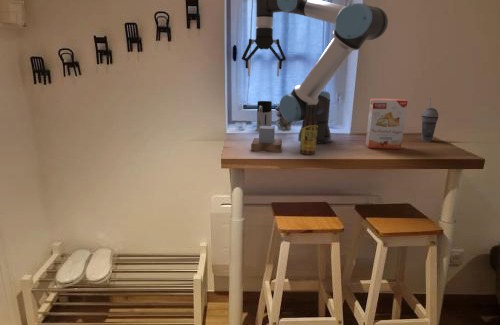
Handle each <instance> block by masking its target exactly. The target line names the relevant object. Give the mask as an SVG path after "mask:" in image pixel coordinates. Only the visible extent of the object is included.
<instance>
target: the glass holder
mask: <svg viewBox="0 0 500 325" xmlns="http://www.w3.org/2000/svg"><path fill="white" fill-rule="evenodd" d="M272 107H273V102H272V101H270V100H258V101H257V108H256V109H257V110H256V129H255V130H256V131H257V132H259V128H260V126H272V124H273V123H272V122H273V121H272V120H273V119H272V118H273V110H272V109H273V108H272Z"/></svg>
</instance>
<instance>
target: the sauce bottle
mask: <svg viewBox="0 0 500 325" xmlns="http://www.w3.org/2000/svg"><path fill="white" fill-rule="evenodd" d="M306 107H307V110H306V116H305V118H304V120H302V122H301V123H302V125H301V127H302V131H301V141H300V145H299V151H300V154H302V155H309V156H310V155H311V156H312V155H315V153H316V151H317V150H316V149H317V143H316V140H317V129H318V124H317V118H316V108H317V104H307V105H306Z"/></svg>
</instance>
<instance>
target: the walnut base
mask: <svg viewBox="0 0 500 325" xmlns="http://www.w3.org/2000/svg"><path fill="white" fill-rule="evenodd" d="M282 140H283V138H274V143H259V137H254V138H253V140H252V142H251V145H250V146H251V147H250V148H251V149H250V150H251V152H259V151H266V152H267V153H281V152H282V143H283V141H282ZM266 152H265V153H266Z"/></svg>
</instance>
